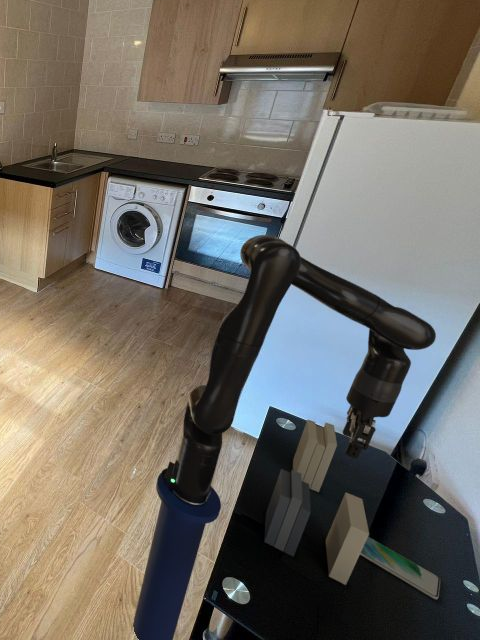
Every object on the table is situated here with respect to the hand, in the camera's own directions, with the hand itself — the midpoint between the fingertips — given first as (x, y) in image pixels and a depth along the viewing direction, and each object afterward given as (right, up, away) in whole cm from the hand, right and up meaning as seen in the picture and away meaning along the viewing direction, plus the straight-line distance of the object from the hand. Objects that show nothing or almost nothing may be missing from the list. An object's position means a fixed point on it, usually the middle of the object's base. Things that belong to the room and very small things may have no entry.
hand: (349, 445), depth 98 cm
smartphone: (+9, -28, -1) cm, 29 cm away
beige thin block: (-5, -28, -1) cm, 28 cm away
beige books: (+8, -20, +23) cm, 32 cm away
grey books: (-13, -25, +5) cm, 29 cm away
